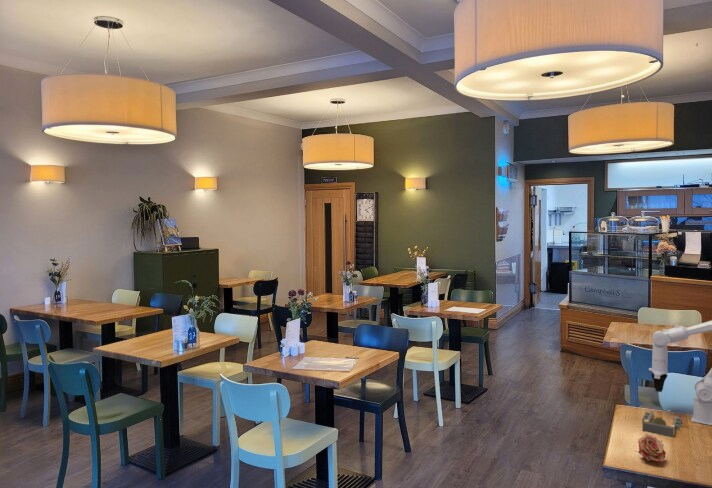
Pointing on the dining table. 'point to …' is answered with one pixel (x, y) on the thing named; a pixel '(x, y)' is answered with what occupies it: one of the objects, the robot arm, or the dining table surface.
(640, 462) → the dining table surface
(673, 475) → the dining table surface
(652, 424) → the grey u-shaped block
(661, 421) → the lime
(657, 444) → the flower
